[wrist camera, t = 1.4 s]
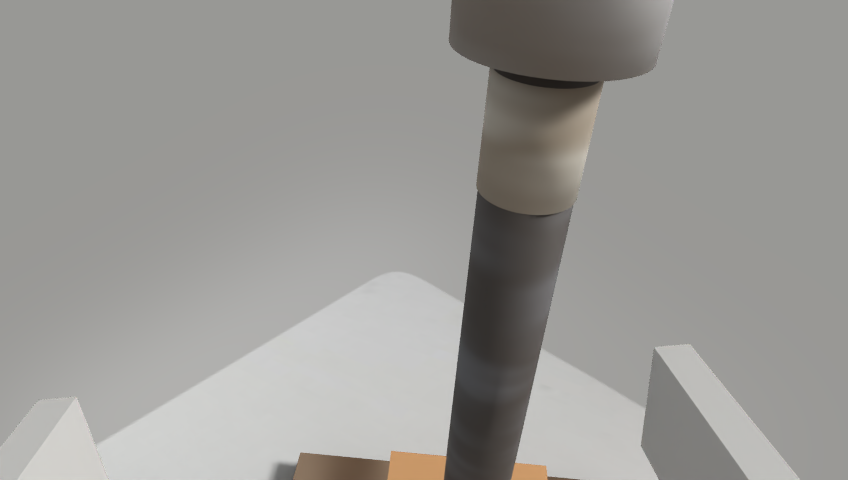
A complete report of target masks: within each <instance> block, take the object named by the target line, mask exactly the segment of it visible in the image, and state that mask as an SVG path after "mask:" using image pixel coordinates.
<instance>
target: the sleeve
mask: <svg viewBox="0 0 848 480" xmlns="http://www.w3.org/2000/svg"><path fill="white" fill-rule="evenodd" d="M445 464H446V456H438V455H427V454H417V453H407V452H396V451H391V457H390V465H389V472H388V479H387V480H444V473H445ZM511 480H548V479H547V470H546V466H542V465H531V464H521V463H515V465H514V469H513V473H512V478H511Z"/></svg>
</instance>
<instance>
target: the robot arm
mask: <svg viewBox="0 0 848 480" xmlns="http://www.w3.org/2000/svg"><path fill="white" fill-rule="evenodd" d="M641 447H642V449H643V451H644V452H645V454H646V456H647V458H648V460H649V462H650V464H651V465H652V467H653V469H654V471H655V473H656V475H657V477H658V478H659V480H800V479H799V478H798V476H797V475H796V474H795V473H794V471H793V470H792V469H791V468H790V467H789V465H788V464H787V463H786V462H785V460H784V459H783V458H782V457H781V456H780V454H779V453H778V452H777V451H776V449H775V448H774V447H773V446H772V444H771V443H770V442H769V441H768V440H767V438H766V437H765V436H764V435H763V433H762V432H761V431H760V430H759V429H758V427H757V426H756V425H755V424H754V422H753V421H752V420H751V419H750V418H749V416H748V415H747V414H746V413H745V411H744V410H743V409H742V408H741V407H740V405H739V404H738V403H737V401H736V400H735V399H734V398H733V397H732V395H731V394H730V393H729V392H728V390H727V389H726V388H725V387H724V386H723V384H722V383H721V382H720V381H719V379H718V378H717V377H716V376H715V375H714V373H713V372H712V371H711V370H710V368H709V367H708V366H707V365H706V363H705V362H704V361H703V360H702V359H701V357H700V356H699V355H698V354H697V352H696V351H695V350H694V349H693V347H692V346H691V345H690V344H686V345H674V346H663V347H654V352H653V360H652V367H651V374H650V382H649V389H648V397H647V405H646V411H645V419H644V426H643V434H642V441H641ZM0 480H109V478H108V476H107V473H106V471H105V468H104V466H103V463H102V461H101V458H100V455H99V453H98V450H97V448H96V445H95V443H94V440H93V438H92V435H91V433H90V430H89V427H88V425H87V422H86V420H85V417H84V415H83V412H82V410H81V407H80V405H79V402H78V399H77V397H68V398H56V399H46V400H45V399H44V400H38V401H37V402H36V403H35V405H34V406H33V407H32V408H31V410H30V411H29V412H28V413H27V415H26V416H25V417H24V419H23V420H22V421H21V422H20V423H19V425H18V426H17V427H16V429H15V430H14V431H13V432H12V434H11V435H10V436H9V437H8V438H7V440H6V441H5V442H4V444H3V445H2V446H1V447H0Z"/></svg>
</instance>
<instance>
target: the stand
mask: <svg viewBox="0 0 848 480" xmlns="http://www.w3.org/2000/svg"><path fill="white" fill-rule="evenodd" d="M673 1H674V0H452V5H451V19H450V33H449V43H450V45H451V47H452V48H453V49H454V50H455V51H456V52H457V53H459V54H460V55H462V56H464V57H465V58H467V59H469V60H471V61H474V62H476V63H479V64H482V65H484V66H488V67H490V71H489V80H488V88H487V97H486V105H485V115H484V123H483V132H482V140H481V149H480V158H479V166H478V175H477V190H478V192H477V201H476V209H475V218H474V226H473V235H472V243H471V252H470V260H469V269H468V277H467V286H466V294H465V303H464V311H463V320H462V328H461V337H460V345H459V354H458V362H457V371H456V379H455V388H454V396H453V405H452V413H451V422H450V430H449V439H448V447H447V456H446V464H445V473H444V480H511V478H512V473H513V469H514V465H515V460H516V456H517V451H518V447H519V443H520V438H521V434H522V429H523V425H524V420H525V416H526V412H527V407H528V403H529V398H530V394H531V390H532V385H533V381H534V376H535V372H536V368H537V363H538V359H539V354H540V350H541V345H542V341H543V336H544V332H545V328H546V323H547V319H548V315H549V310H550V306H551V301H552V297H553V292H554V288H555V283H556V279H557V275H558V270H559V266H560V262H561V257H562V253H563V248H564V244H565V240H566V235H567V231H568V226H569V222H570V217H571V213H572V208H573V205H574V203H575V202H576V200H577V196H578V192H579V187H580V183H581V178H582V174H583V170H584V165H585V161H586V157H587V153H588V148H589V144H590V140H591V135H592V131H593V126H594V122H595V118H596V113H597V109H598V104H599V100H600V95H601V92H602V87H603V83H604V81H612V80H622V79H627V78H632V77H636V76H640V75H643V74H645V73H648V72H649V71H651V70H652V69H653V68H654V67H655V66H656V63H657V59H658V55H659V52H660V48H661V45H662V41H663V37H664V34H665V30H666V27H667V23H668V19H669V15H670V12H671V9H672V5H673ZM389 465H390V461H382V460H372V459H361V458H351V457H341V456H330V455H320V454H310V453H300V456H299V460H298V463H297V467H296V470H295V474H294V477H293V480H387V479H388V472H389ZM547 479H548V480H578V479H568V478H558V477H547Z"/></svg>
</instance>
